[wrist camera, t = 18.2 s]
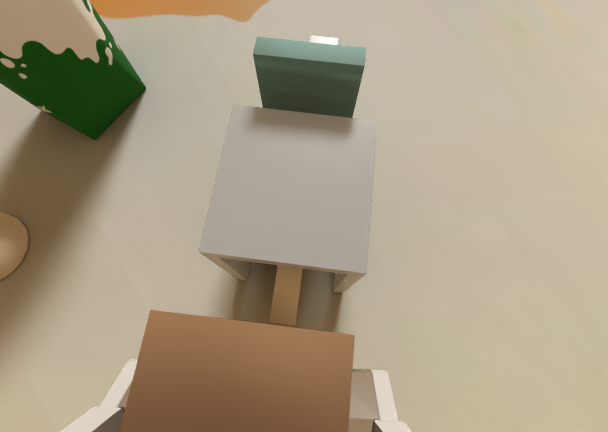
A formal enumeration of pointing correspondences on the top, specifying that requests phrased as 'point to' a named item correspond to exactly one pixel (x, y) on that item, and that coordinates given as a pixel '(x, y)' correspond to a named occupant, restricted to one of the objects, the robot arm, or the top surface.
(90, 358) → the top surface
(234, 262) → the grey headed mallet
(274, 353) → the walnut block
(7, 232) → the beer glass
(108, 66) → the milk carton
